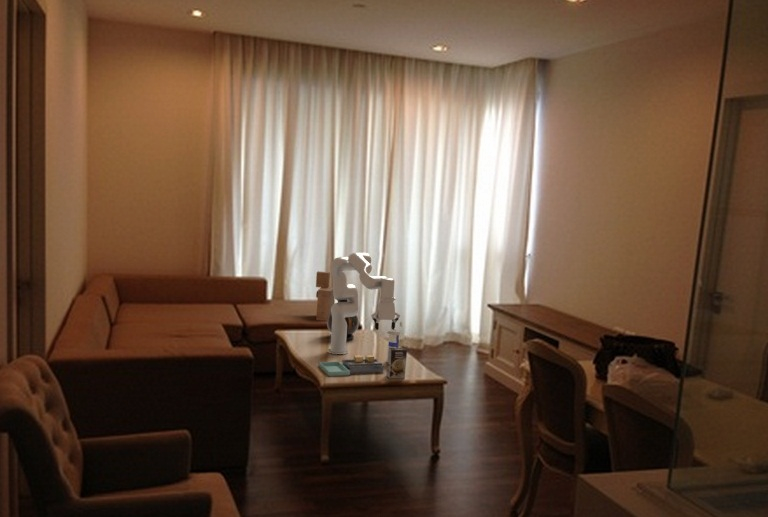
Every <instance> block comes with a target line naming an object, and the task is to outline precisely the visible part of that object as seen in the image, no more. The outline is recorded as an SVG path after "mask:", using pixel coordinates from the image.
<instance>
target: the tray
mask: <svg viewBox="0 0 768 517" xmlns="http://www.w3.org/2000/svg"><path fill="white" fill-rule="evenodd" d="M318 367H319V368H320V369H321V370H322V372H324V373H325V375H326V376H328V377H347V376H348V377H349V376H351V374H350V371H349V370H348V369H347V368H346V367H345V366H344V365H342V362H340V361H318Z"/></svg>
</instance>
